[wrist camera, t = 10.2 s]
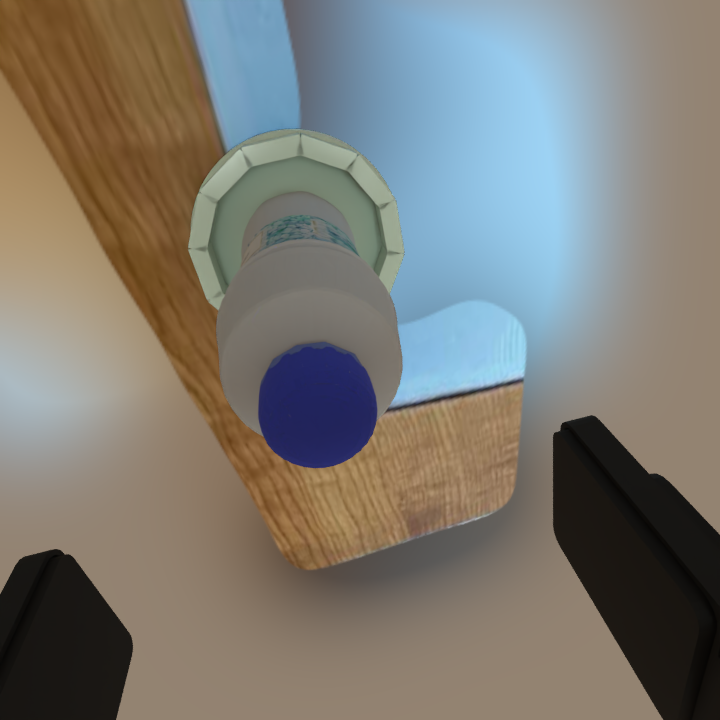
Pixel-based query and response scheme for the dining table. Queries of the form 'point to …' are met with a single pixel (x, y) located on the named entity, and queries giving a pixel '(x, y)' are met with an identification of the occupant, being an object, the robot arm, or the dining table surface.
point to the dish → (285, 175)
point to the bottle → (307, 334)
